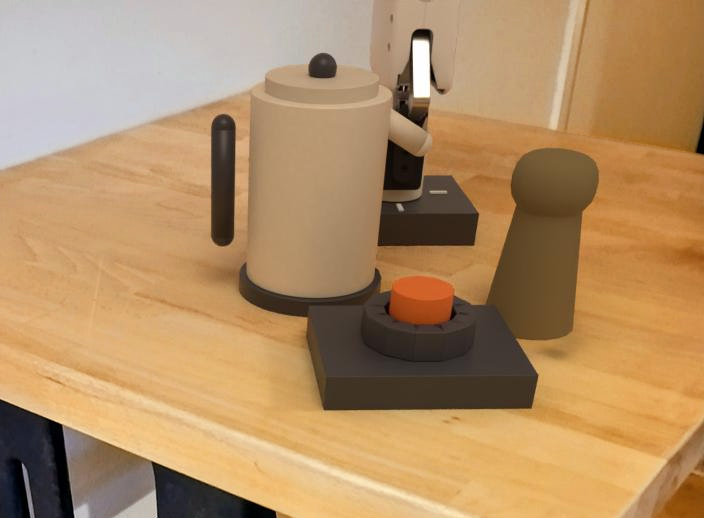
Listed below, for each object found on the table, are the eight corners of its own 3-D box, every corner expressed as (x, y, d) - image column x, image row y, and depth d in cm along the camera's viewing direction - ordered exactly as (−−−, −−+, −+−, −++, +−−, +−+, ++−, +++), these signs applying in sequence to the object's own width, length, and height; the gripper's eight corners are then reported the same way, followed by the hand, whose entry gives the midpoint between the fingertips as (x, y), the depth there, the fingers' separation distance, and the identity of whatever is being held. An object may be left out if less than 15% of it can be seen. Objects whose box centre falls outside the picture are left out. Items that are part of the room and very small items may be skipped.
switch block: (489, 336, 67) (499, 277, 64) (531, 409, 58) (545, 345, 56) (306, 337, 66) (309, 278, 64) (323, 411, 58) (328, 346, 56)
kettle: (401, 263, 77) (427, 38, 68) (427, 317, 69) (461, 70, 60) (209, 264, 76) (209, 37, 67) (212, 319, 68) (213, 69, 59)
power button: (443, 303, 62) (447, 275, 61) (456, 328, 59) (460, 299, 58) (384, 303, 62) (387, 275, 60) (394, 328, 59) (397, 299, 58)
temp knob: (358, 183, 84) (363, 116, 81) (415, 183, 85) (423, 116, 81) (366, 202, 81) (373, 131, 77) (426, 202, 81) (435, 131, 78)
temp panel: (447, 204, 88) (452, 173, 87) (474, 245, 80) (479, 211, 79) (309, 204, 88) (311, 173, 86) (322, 245, 80) (325, 211, 78)
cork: (500, 344, 66) (532, 168, 59) (468, 307, 70) (494, 140, 64) (588, 338, 66) (630, 164, 60) (550, 302, 71) (585, 137, 65)
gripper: (505, -77, 64) (462, 212, 75) (449, -98, 78) (420, 149, 89) (387, -78, 64) (361, 212, 75) (351, -99, 78) (334, 149, 89)
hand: (393, 175), depth 82 cm, fingers closed on temp knob, 4 cm apart
